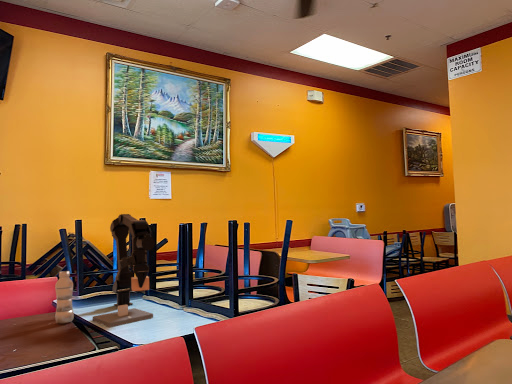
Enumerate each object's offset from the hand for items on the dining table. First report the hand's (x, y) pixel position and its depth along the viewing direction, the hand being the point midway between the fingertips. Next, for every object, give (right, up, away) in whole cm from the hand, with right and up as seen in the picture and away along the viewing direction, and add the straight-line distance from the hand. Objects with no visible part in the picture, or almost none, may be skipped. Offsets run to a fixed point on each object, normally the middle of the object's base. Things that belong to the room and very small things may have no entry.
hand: (140, 286), depth 166 cm
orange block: (0, -1, 0) cm, 1 cm away
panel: (-4, -11, -10) cm, 15 cm away
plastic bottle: (-26, -11, -13) cm, 31 cm away
